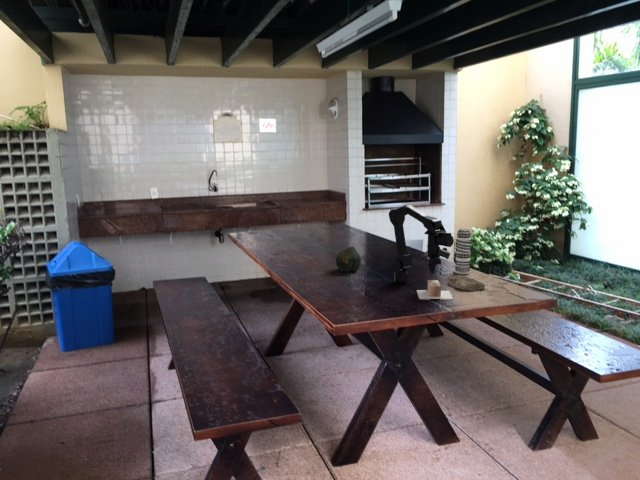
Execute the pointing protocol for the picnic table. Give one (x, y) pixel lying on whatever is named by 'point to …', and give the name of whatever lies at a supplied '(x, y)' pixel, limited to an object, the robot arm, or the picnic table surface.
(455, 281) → the flat brown rock
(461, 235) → the decorative candle
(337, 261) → the squash
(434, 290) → the birch block
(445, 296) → the white board
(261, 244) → the picnic table surface
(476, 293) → the picnic table surface
